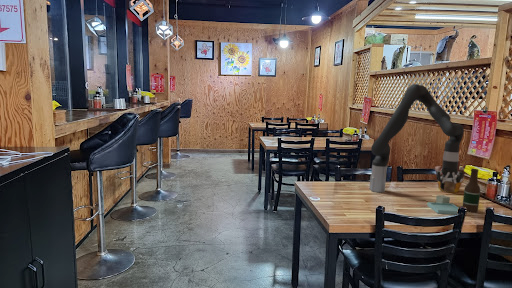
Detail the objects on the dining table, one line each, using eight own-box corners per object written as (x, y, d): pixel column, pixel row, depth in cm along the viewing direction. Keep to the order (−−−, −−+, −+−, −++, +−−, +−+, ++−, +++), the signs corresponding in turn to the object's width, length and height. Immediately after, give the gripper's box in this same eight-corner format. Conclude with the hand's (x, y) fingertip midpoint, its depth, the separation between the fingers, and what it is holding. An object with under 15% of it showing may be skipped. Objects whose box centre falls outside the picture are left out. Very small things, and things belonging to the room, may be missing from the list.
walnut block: (444, 191, 192) (445, 182, 191) (440, 189, 197) (441, 180, 196) (454, 192, 192) (455, 183, 191) (449, 189, 197) (450, 180, 196)
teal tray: (437, 213, 190) (438, 210, 189) (427, 205, 203) (427, 202, 203) (464, 214, 189) (464, 211, 188) (451, 206, 202) (452, 203, 202)
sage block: (441, 206, 203) (442, 197, 202) (435, 203, 208) (436, 195, 207) (449, 205, 204) (450, 197, 204) (442, 203, 209) (443, 195, 208)
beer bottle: (471, 213, 191) (477, 171, 188) (458, 209, 198) (463, 168, 195) (481, 212, 194) (486, 170, 191) (467, 207, 201) (472, 167, 198)
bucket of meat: (452, 195, 225) (456, 165, 222) (428, 189, 239) (431, 161, 236) (469, 192, 235) (472, 163, 232) (445, 186, 249) (448, 158, 246)
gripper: (440, 160, 189) (437, 190, 191) (467, 161, 188) (464, 191, 190) (434, 157, 196) (431, 187, 198) (460, 158, 195) (457, 188, 198)
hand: (447, 189), depth 194 cm, fingers closed on walnut block, 5 cm apart
